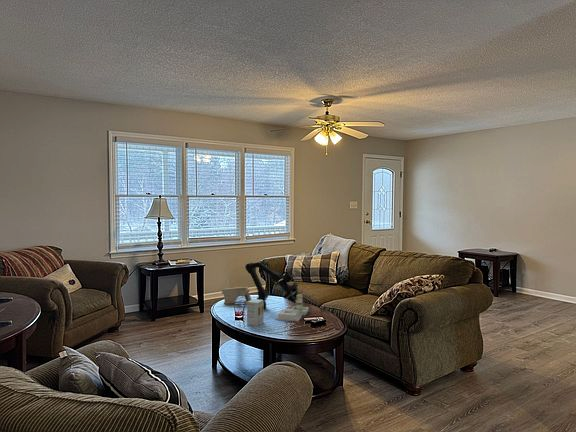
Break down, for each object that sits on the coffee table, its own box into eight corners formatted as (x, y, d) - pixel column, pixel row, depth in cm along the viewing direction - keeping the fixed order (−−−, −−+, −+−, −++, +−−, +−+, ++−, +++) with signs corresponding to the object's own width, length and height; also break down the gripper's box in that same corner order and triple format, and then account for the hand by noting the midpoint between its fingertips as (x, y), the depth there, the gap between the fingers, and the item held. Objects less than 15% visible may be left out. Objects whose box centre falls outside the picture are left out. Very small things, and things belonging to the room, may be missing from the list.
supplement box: (257, 326, 280) (257, 303, 279) (246, 324, 284) (246, 301, 283) (264, 322, 289) (263, 299, 288) (252, 321, 292) (252, 298, 291)
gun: (252, 303, 339) (250, 286, 338) (251, 304, 336) (249, 287, 335) (224, 305, 342) (222, 288, 341) (223, 306, 338) (221, 289, 338)
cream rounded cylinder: (297, 312, 310) (297, 296, 309) (295, 310, 314) (295, 294, 314) (303, 311, 311) (303, 295, 310) (301, 310, 315) (301, 294, 315)
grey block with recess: (274, 319, 295) (274, 313, 295) (279, 314, 308) (279, 308, 308) (298, 321, 290) (298, 315, 290) (302, 315, 304) (302, 310, 304)
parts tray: (290, 314, 308) (290, 310, 308) (294, 309, 320) (293, 306, 320) (305, 315, 305) (305, 311, 305) (308, 310, 317) (308, 307, 317)
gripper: (287, 282, 305) (300, 297, 302) (295, 277, 322) (308, 292, 319) (277, 291, 308) (291, 306, 305) (286, 286, 326) (299, 300, 322)
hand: (297, 301), depth 313 cm, fingers open, 9 cm apart
